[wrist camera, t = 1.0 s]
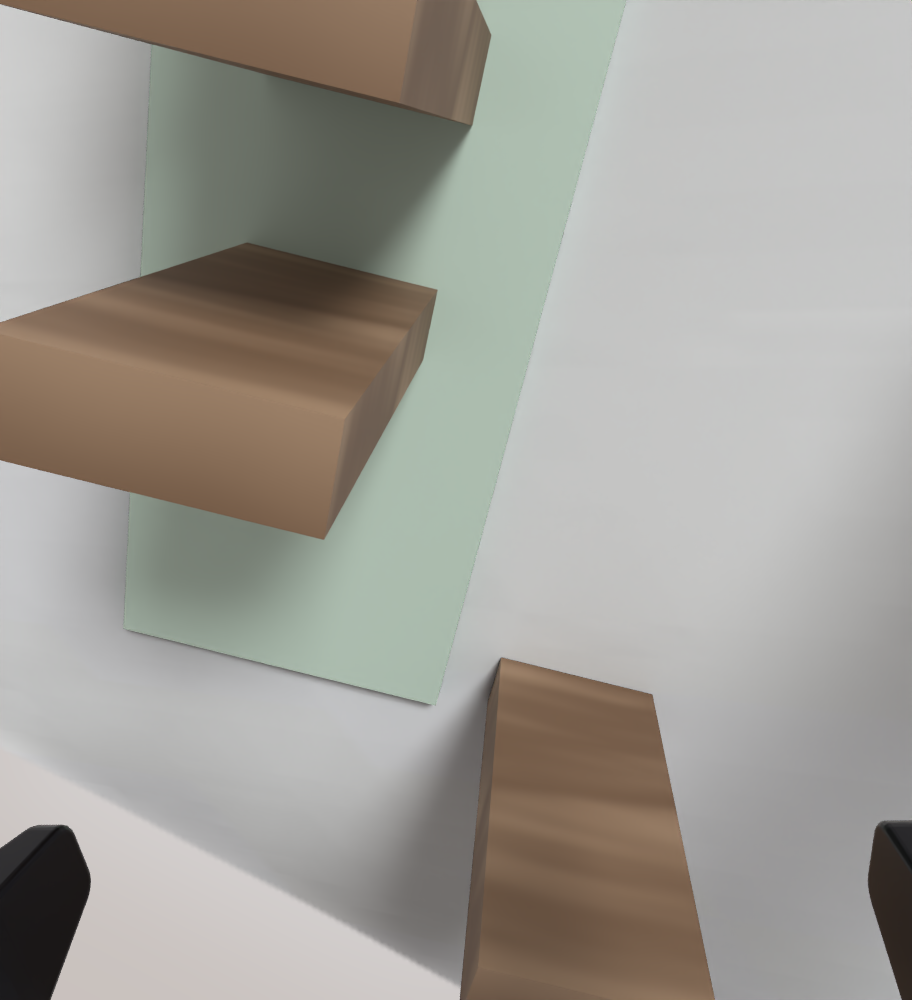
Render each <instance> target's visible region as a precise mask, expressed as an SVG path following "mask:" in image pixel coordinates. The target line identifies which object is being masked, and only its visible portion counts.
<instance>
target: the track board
mask: <svg viewBox="0 0 912 1000" xmlns="http://www.w3.org/2000/svg"><path fill="white" fill-rule="evenodd" d="M476 1H477V3H478V5H479V8H480V10H481V12H482V14H483V17H484V19H485V21H486V24H487V26H488V28H489V31H490V33H491V40H490V44H489V49H488V54H487V59H486V63H485V68H484V73H483V78H482V82H481V87H480V92H479V97H478V101H477V106H476V111H475V116H474V120H473V125H472V126H471V125H467V124H463V123H459V122H455V121H451V120H447V119H443V118H439V117H435V116H431V115H427V114H423V113H419V112H415V111H411V110H407V109H403V108H399V107H395V106H391V105H387V104H383V103H379V102H375V101H371V100H367V99H362V98H358V97H354V96H350V95H346V94H342V93H338V92H334V91H330V90H326V89H322V88H318V87H314V86H310V85H306V84H302V83H298V82H294V81H290V80H286V79H282V78H278V77H274V76H270V75H266V74H262V73H258V72H255V71H251V70H247V69H243V68H239V67H236V66H232V65H228V64H224V63H221V62H217V61H213V60H209V59H205V58H202V57H198V56H194V55H190V54H187V53H183V52H179V51H175V50H171V49H168V48H164V47H160V46H156V45H153V44H152V46H151V66H150V87H149V108H148V128H147V149H146V170H145V191H144V211H143V232H142V253H141V274H140V277H142V276H145V275H148V274H151V273H154V272H157V271H160V270H163V269H167V268H170V267H173V266H176V265H179V264H182V263H185V262H188V261H191V260H194V259H197V258H200V257H204V256H207V255H210V254H213V253H216V252H219V251H222V250H225V249H228V248H231V247H234V246H237V245H240V244H244V243H251V244H255V245H259V246H263V247H267V248H271V249H275V250H279V251H283V252H287V253H291V254H296V255H300V256H304V257H308V258H312V259H316V260H320V261H324V262H328V263H332V264H336V265H340V266H344V267H348V268H352V269H356V270H360V271H364V272H368V273H372V274H376V275H380V276H384V277H388V278H392V279H396V280H400V281H404V282H408V283H412V284H417V285H421V286H425V287H429V288H433V289H437V290H438V291H437V296H436V301H435V306H434V310H433V315H432V320H431V325H430V329H429V334H428V339H427V344H426V349H425V353H424V358H423V361H422V363H421V365H420V367H419V368H418V370H417V372H416V374H415V376H414V378H413V379H412V381H411V383H410V385H409V387H408V388H407V390H406V392H405V394H404V396H403V398H402V399H401V401H400V403H399V405H398V407H397V408H396V410H395V412H394V414H393V416H392V418H391V419H390V421H389V423H388V425H387V427H386V428H385V430H384V432H383V434H382V436H381V438H380V439H379V441H378V443H377V445H376V447H375V448H374V450H373V452H372V454H371V456H370V458H369V459H368V461H367V463H366V465H365V467H364V468H363V470H362V472H361V474H360V476H359V477H358V479H357V481H356V483H355V485H354V487H353V488H352V490H351V492H350V494H349V496H348V497H347V499H346V501H345V503H344V505H343V507H342V508H341V510H340V512H339V514H338V516H337V517H336V519H335V521H334V523H333V525H332V527H331V528H330V530H329V532H328V534H327V536H326V537H325V539H324V540H322V539H318V538H314V537H310V536H306V535H302V534H298V533H294V532H290V531H285V530H281V529H277V528H273V527H269V526H265V525H261V524H257V523H253V522H249V521H245V520H241V519H237V518H233V517H229V516H225V515H221V514H217V513H212V512H208V511H204V510H200V509H196V508H192V507H188V506H184V505H180V504H176V503H172V502H168V501H164V500H160V499H156V498H152V497H148V496H144V495H139V494H135V493H131V492H130V502H129V522H128V543H127V564H126V584H125V605H124V626H123V629H126V630H130V631H134V632H138V633H142V634H147V635H151V636H155V637H159V638H163V639H167V640H171V641H175V642H179V643H183V644H187V645H191V646H195V647H199V648H203V649H208V650H212V651H216V652H220V653H224V654H228V655H232V656H236V657H240V658H244V659H248V660H252V661H256V662H260V663H264V664H269V665H273V666H277V667H281V668H285V669H289V670H293V671H297V672H301V673H305V674H309V675H313V676H317V677H321V678H325V679H330V680H334V681H338V682H342V683H346V684H350V685H354V686H358V687H362V688H366V689H370V690H374V691H378V692H382V693H386V694H390V695H395V696H399V697H403V698H407V699H411V700H415V701H419V702H423V703H427V704H431V705H435V706H436V703H437V699H438V695H439V691H440V688H441V684H442V680H443V677H444V673H445V669H446V666H447V662H448V658H449V654H450V651H451V647H452V643H453V640H454V636H455V632H456V629H457V625H458V621H459V617H460V614H461V610H462V606H463V603H464V599H465V595H466V592H467V588H468V584H469V581H470V577H471V573H472V569H473V566H474V562H475V558H476V555H477V551H478V547H479V544H480V540H481V536H482V532H483V529H484V525H485V521H486V518H487V514H488V510H489V507H490V503H491V499H492V495H493V492H494V488H495V484H496V481H497V477H498V473H499V470H500V466H501V462H502V458H503V455H504V451H505V447H506V444H507V440H508V436H509V433H510V429H511V425H512V421H513V418H514V414H515V410H516V407H517V403H518V399H519V396H520V392H521V388H522V384H523V381H524V377H525V373H526V370H527V366H528V362H529V359H530V355H531V351H532V347H533V344H534V340H535V336H536V333H537V329H538V325H539V322H540V318H541V314H542V311H543V307H544V303H545V299H546V296H547V292H548V288H549V285H550V281H551V277H552V274H553V270H554V266H555V262H556V259H557V255H558V251H559V248H560V244H561V240H562V237H563V233H564V229H565V225H566V222H567V218H568V214H569V211H570V207H571V203H572V200H573V196H574V192H575V188H576V185H577V181H578V177H579V174H580V170H581V166H582V163H583V159H584V155H585V151H586V148H587V144H588V140H589V137H590V133H591V129H592V126H593V122H594V118H595V114H596V111H597V107H598V103H599V100H600V96H601V92H602V89H603V85H604V81H605V77H606V74H607V70H608V66H609V63H610V59H611V55H612V52H613V48H614V44H615V40H616V37H617V33H618V29H619V26H620V22H621V18H622V15H623V11H624V7H625V4H626V0H476Z"/></svg>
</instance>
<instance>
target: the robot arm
mask: <svg viewBox="0 0 912 1000" xmlns="http://www.w3.org/2000/svg"><path fill="white" fill-rule="evenodd" d="M90 883H91V878H90V872H89V869H88V867H87V864H86V862H85V859H84V857H83V854H82V852H81V850H80V847H79V844H78V842H77V839H76V837H75V835H74V833H73V831H72V830H71V829H70V828H69V827H68V826H65V825H37V826H33V827H30V828H29V829H27V830H25V831H24V832H22V833H21V834H20V835H18V836H17V837H15V838H14V839H13V840H11V841H10V842H8V843H7V844H6V845H4V846H3V847H1V848H0V1000H51V997H52V994H53V992H54V989H55V986H56V983H57V981H58V978H59V975H60V973H61V970H62V967H63V964H64V962H65V959H66V956H67V953H68V951H69V948H70V945H71V942H72V940H73V937H74V934H75V932H76V929H77V926H78V923H79V921H80V918H81V915H82V913H83V910H84V907H85V905H86V902H87V899H88V896H89V892H90ZM868 888H869V894H870V899H871V902H872V906H873V909H874V912H875V915H876V919H877V922H878V925H879V928H880V931H881V935H882V938H883V941H884V944H885V947H886V951H887V954H888V957H889V960H890V963H891V967H892V970H893V973H894V976H895V979H896V983H897V986H898V989H899V992H900V995H901V999H902V1000H912V820H911V821H882V822H880V823H879V824H878V825H877V826H876V829H875V833H874V839H873V846H872V853H871V860H870V866H869V873H868Z"/></svg>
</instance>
